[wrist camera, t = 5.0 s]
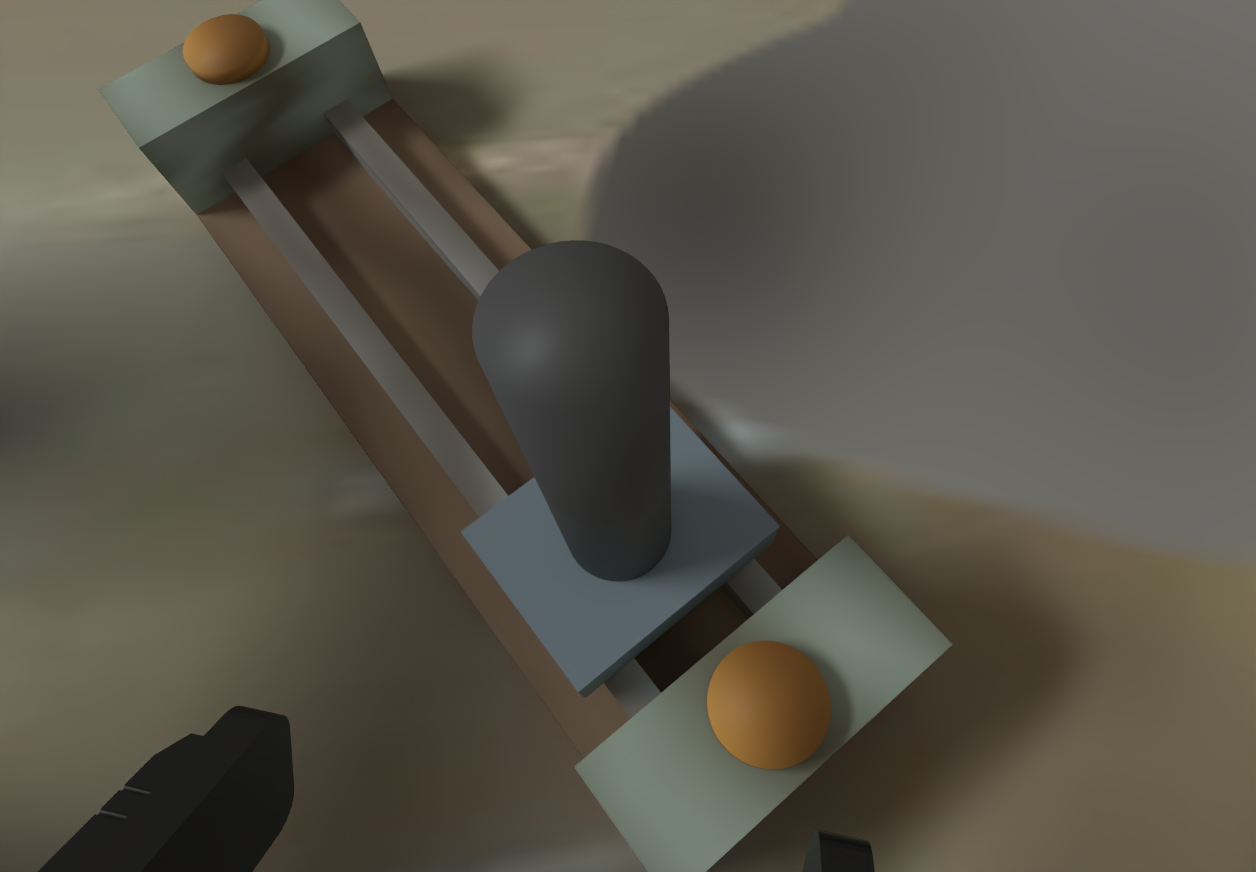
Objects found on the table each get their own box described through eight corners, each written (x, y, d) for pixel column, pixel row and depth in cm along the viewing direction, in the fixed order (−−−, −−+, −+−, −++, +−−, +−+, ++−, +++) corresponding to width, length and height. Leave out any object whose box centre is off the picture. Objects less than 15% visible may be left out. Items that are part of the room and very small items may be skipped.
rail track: (671, 875, 24) (670, 908, 19) (177, 183, 37) (87, 77, 31) (899, 667, 26) (959, 641, 21) (360, 76, 39) (306, -41, 33)
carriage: (585, 698, 24) (480, 616, 11) (475, 548, 26) (278, 331, 13) (772, 543, 25) (873, 312, 12) (654, 413, 27) (637, 100, 14)
